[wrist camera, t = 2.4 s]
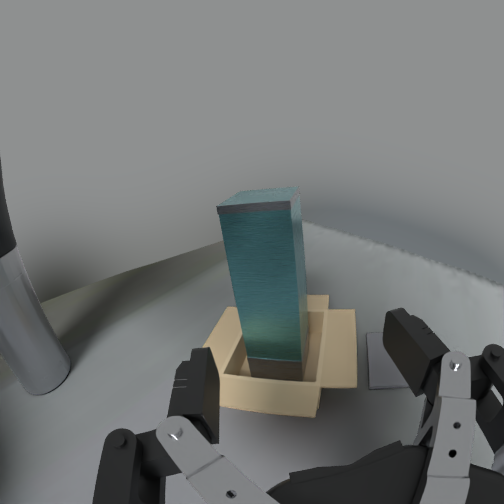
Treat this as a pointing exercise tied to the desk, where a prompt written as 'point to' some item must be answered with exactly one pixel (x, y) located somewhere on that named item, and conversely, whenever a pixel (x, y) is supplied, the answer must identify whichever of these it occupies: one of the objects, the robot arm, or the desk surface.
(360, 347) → the desk surface
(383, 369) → the mat
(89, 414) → the desk surface
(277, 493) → the robot arm
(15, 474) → the desk surface
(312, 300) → the carton
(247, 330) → the tall box
